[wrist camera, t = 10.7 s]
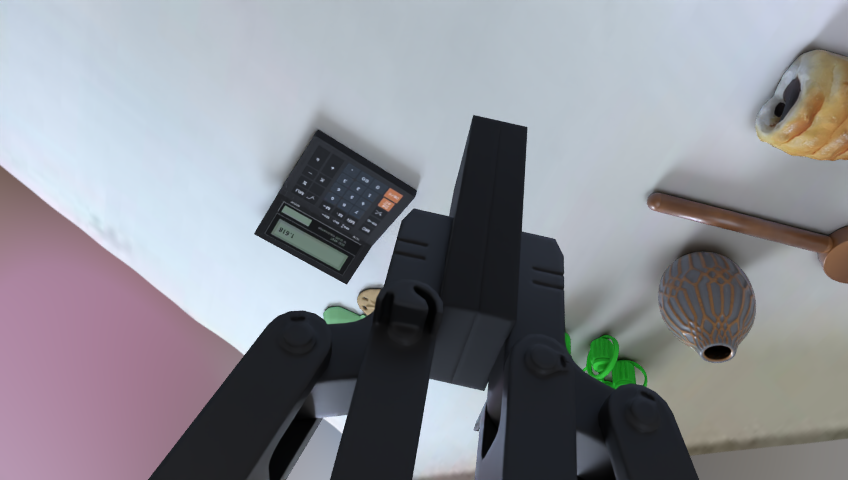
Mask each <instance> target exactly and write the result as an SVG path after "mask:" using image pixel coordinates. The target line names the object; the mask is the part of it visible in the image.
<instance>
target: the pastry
mask: <svg viewBox="0 0 848 480" xmlns="http://www.w3.org/2000/svg"><path fill="white" fill-rule="evenodd" d="M755 128H756V132H757V135H758V137H759V139H760V140H761V141H763V142H767V143H769V144H771V145H772V146H773V147H776V148H778V149H780V150H783V151H784V152H786V153H788V154H790V155H793V156H805V157H809V158H812V159H817V160H831V161H835V160H838V159H842V160H848V57H846V56H842V55H838V54H835V53H832V52H829V51H825V50H813V51H810V52H806V53H804V54H802V55H800V56H799V57H798V58H797V59H796V60H795V61H794V62H793V63H792V65H791V66H790V67H789V69H788V70H787V71H786V72H785V73H784V75H783V77H782V79H781V81H780V83H779V84H778V86H777V89H776V91H775V94H774V96H773V97H772V98H771V99H769V100H768V101H767V102H766V103H765V104H764V106H763V107H762V108H761V110H760V112H759V113H758V115H757V118H756V125H755Z"/></svg>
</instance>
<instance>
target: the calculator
mask: <svg viewBox="0 0 848 480" xmlns="http://www.w3.org/2000/svg"><path fill="white" fill-rule="evenodd" d="M416 192H417V191H416V190H415V189H413V188H412V187H410V186H408V185H407V184H405V183H404V182H402V181H400V180H399V179H397V178H395V177H394V176H392V175H391V174H389V173H387V172H386V171H384V170H383V169H381V168H379V167H378V166H376V165H374V164H373V163H371V162H370V161H368V160H366V159H365V158H363V157H362V156H360V155H358V154H357V153H355V152H354V151H352V150H350V149H349V148H347V147H345V146H344V145H342V144H341V143H339V142H337V141H336V140H334V139H333V138H331V137H329V136H328V135H326V134H324V133H323V132H321V131H320V130H317V132H316V133H315V135H314V137H313V138H312V140H311V141H310V143H309V145H308V146H307V148H306V150H305V151H304V153H303V154H302V156H301V158H300V159H299V161H298V162H297V164H296V166H295V167H294V169H293V170H292V172H291V174H290V175H289V177H288V178H287V180H286V182H285V183H284V185H283V186H282V188H281V190H280V191H279V193H278V195H277V196H276V198H275V200H274V201H273V203H272V205H271V206H270V208H269V210H268V211H267V213H266V215H265V216H264V218H263V220H262V221H261V223H260V225H259V226H258V228H257V230H256V231H255V233H254V234H255V235H257V236H259V237H261V238H262V239H264V240H266V241H268V242H270V243H272V244H273V245H275V246H277V247H279V248H281V249H283V250H284V251H286V252H288V253H290V254H292V255H294V256H295V257H297V258H299V259H301V260H303V261H305V262H306V263H308V264H310V265H312V266H314V267H316V268H317V269H319V270H321V271H323V272H325V273H327V274H328V275H330V276H332V277H334V278H336V279H338V280H339V281H341V282H343V283H345V284H347V283H348V282H349V280H350V279H351V277H352V276H353V274H354V273H355V271H356V270H357V268H358V267H359V265H360V264H361V262H362V260H363V259H364V257H365V256H366V254H367V253H368V251H369V250H370V248H371V247H372V245H373V244H374V243H375V242H376V241H377V240H378V239H379V238H380V236H381V235H382V234H383V233H384V232H385V231H386V230H387V228H388V227H389V226H390V225H391V224H392V223H393V222H394V220H395V219H396V218H397V217H398V216H399V215H400V214H401V213H402V211H403V210H404V209H405V208H406V207H407V206H408V205H409V203H410V202H411V201H412V200H413V199H414V198H415V196H416Z"/></svg>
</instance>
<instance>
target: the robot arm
mask: <svg viewBox="0 0 848 480" xmlns="http://www.w3.org/2000/svg"><path fill="white" fill-rule="evenodd" d="M526 143H527V127H524V126H520V125H515V124H511V123H506V122H502V121H498V120H493V119H489V118H484V117H480V116H475V115H473V118H472V122H471V126H470V130H469V134H468V138H467V142H466V146H465V149H464V153H463V157H462V161H461V165H460V169H459V173H458V177H457V180H456V184H455V188H454V193H453V198H452V203H451V209H450V214H449V216H445V215H440V214H436V213H431V212H427V211H423V210H418V209H413V210H412V211H411V212H410V213H409V214H408V215H407V216H406V217H405V218H404V219H403V220H402V221H401V225H400V229H399V232H398V236H397V240H396V244H395V247H394V251H393V255H392V258H391V262H390V266H389V269H388V273H387V277H386V281H385V284H384V287H383V288H382V289H381V290H380V292H379V294H378V296H377V297H376V303H375V309H374V311H373V312H372V313H371V314H369V315H368V316H366V317H365V318H362V319H360V320H357V321H354V322H348V323H337V324H327V323H326V321H325V320H324V319H322V318H321V317H319V316H318V315H316V314H314V313H310V312H307V311H290V312H287V313H285V314H282V315H279V316H277V317H276V318H275V319H274V320H273V321H272V322H271V323H269V324H268V326H267V327H266V328H265V329H264V331H263V332H262V333H261V335H260V336H259V337H258V338H257V340H256V341H255V342H254V344H253V345H252V346H251V347H250V349H249V350H248V351H247V353H246V354H245V355H244V357H243V358H242V359H241V361H240V362H239V363H238V364H237V366H236V367H235V368H234V369H233V371H232V372H231V374H230V375H229V376H228V377H227V378H226V380H225V381H224V382H223V384H222V385H221V386H220V388H219V389H218V390H217V391H216V393H215V394H214V395H213V397H212V398H211V399H210V400H209V402H208V403H207V404H206V406H205V407H204V408H203V409H202V411H201V412H200V413H199V415H198V416H197V417H196V419H195V420H194V421H193V422H192V424H191V425H190V426H189V428H188V429H187V430H186V431H185V433H184V434H183V435H182V437H181V438H180V439H179V440H178V442H177V443H176V444H175V446H174V447H173V448H172V450H171V451H170V452H169V453H168V455H167V456H166V457H165V459H164V460H163V461H162V462H161V464H160V465H159V466H158V468H157V469H156V470H155V471H154V473H153V474H152V475H151V477H150V478H149V479H148V480H286V479H287V477H288V475H289V474H290V472H291V470H292V469H293V467H294V465H295V464H296V462H297V460H298V459H299V457H300V455H301V454H302V452H303V450H304V449H305V447H306V445H307V444H308V442H309V440H310V439H311V437H312V435H313V434H314V432H315V430H316V429H317V427H318V425H319V424H320V422H321V420H322V419H323V417H331V416H341V415H347V419H346V423H345V426H344V430H343V434H342V438H341V441H340V445H339V449H338V452H337V456H336V460H335V463H334V467H333V471H332V475H331V479H330V480H412V477H413V471H414V465H415V459H416V453H417V448H418V442H419V436H420V430H421V424H422V418H423V412H424V406H425V400H426V394H427V389H428V383H429V379H434V380H438V381H442V382H447V383H451V384H456V385H460V386H465V387H469V388H474V389H478V390H483V391H484V390H485V388H486V386H487V383H488V381H489V383H488V395H487V400H486V403H485V405H484V407H483V409H482V411H481V413H480V415H479V417H478V419H477V421H476V424H475V427H474V431H479V429H480V431H479V441H478V451H477V462H476V472H475V480H699V478H698V476H697V473H696V471H695V468H694V466H693V463H692V460H691V458H690V455H689V453H688V450H687V448H686V445H685V443H684V440H683V438H682V435H681V433H680V430H679V428H678V425H677V423H676V420H675V417H674V415H673V413H672V411H671V410H670V408H669V406H668V404H667V403H666V402H665V401H664V400H663V399H662V398H661V397H660V396H659V395H658V394H657V393H656V392H654V391H652V390H651V389H649V388H647V387H645V386H643V385H637V384H632V383H630V384H625V385H620V386H619V387H618V388H616V389H614V388H612V387H610V386H608V385H606V384H604V383H602V382H601V381H599V380H597V379H595V378H593V377H591V376H590V375H588V374H587V373H585V372H584V371H583V370H582V369H581V368H580V367H578V366H577V365H576V364H575V362H574V361H573V359H572V357H571V355H570V354H569V352H568V350H567V348H566V342H565V308H564V290H563V289H564V277H563V274H564V256H563V254H562V252H561V250H560V248H559V246H558V244H557V242H556V240H555V239H553V238H548V237H544V236H539V235H535V234H530V233H526V232H522V215H523V197H524V179H525V161H526Z"/></svg>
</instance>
